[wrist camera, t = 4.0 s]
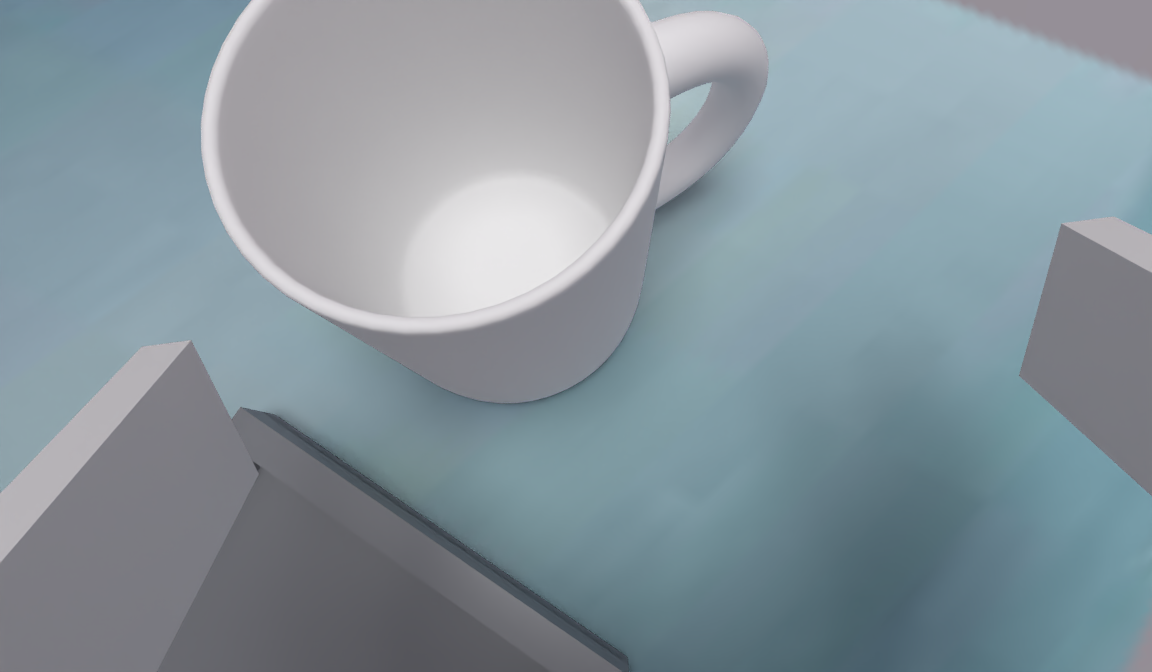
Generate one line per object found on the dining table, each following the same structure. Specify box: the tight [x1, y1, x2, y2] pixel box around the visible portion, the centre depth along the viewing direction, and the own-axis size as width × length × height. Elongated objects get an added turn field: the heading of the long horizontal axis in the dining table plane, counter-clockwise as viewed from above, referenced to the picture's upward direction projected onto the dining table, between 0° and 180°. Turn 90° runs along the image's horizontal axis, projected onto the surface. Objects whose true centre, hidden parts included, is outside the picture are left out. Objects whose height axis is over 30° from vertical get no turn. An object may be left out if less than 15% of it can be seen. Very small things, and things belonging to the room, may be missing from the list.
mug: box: [201, 0, 768, 403], centre depth 17 cm, size 12×8×10 cm
